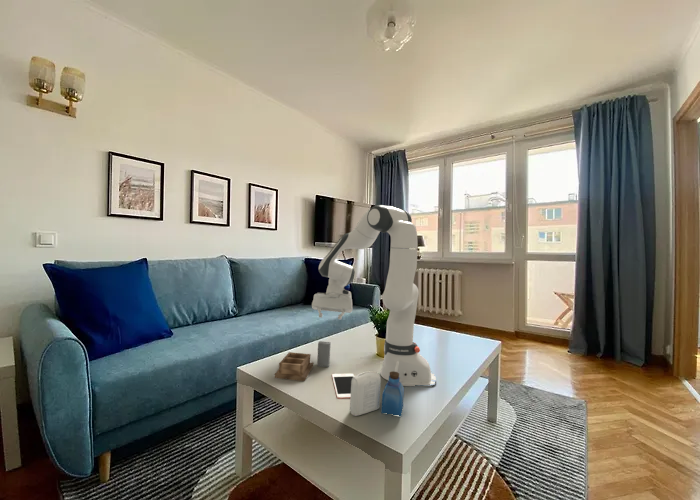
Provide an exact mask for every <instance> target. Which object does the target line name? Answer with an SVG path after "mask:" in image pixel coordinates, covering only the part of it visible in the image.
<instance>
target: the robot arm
mask: <svg viewBox="0 0 700 500" xmlns="http://www.w3.org/2000/svg"><path fill="white" fill-rule="evenodd" d="M412 219H413V218H412V216H411V214H410V213H409V212H408V211H407V210H405V209H402V208H397V207H394V206H391V205H383V204H377V205H374V206H372V207H371V208H370V209H369V210H366V212H365V213H364V214H363V215H362V217H360V219H359V221H358V223H357V225H356V226H355V228H353V230H351V231H350V232H347V233H344V234H343V235H342V236H341V237H340V238H339V239H338V240H337V242H336V243H335V245H334V246H333V247H332V248H331V249H330V250H329V252H328V253H326V254H327V255H325V256H324V257H323V259H321V261H320V262H319V265H318V272H319V274H320V275H321V277H324V278H329V279H328V285H327V286H326V287H327V288H326V292H317V293H315V294H314V295H313V300H312V302H311V308H312V309H313V310H315V311H318V318H319V319H322V318H323V315H324V314H323V313H322V311H326V312H337V313H340V314H338V316H337V320H342V317H343V316H344V315H345V313H346V314H347V313H349V314H351V313H352V312H353V299H352V292H351V291H349V290H347V289H345V287H347V286H349V285H350V284H352V283H353V281H354V279H355V278H354V277H355V274H356V272H355V268H354V267H353V266H352V265H350V264H347V263H346V262H342V261H339V260H338V259H337V258H338V257H339V255H340V254H341V253H342V252H343V251H344V250H348V249H349V250H351V249H355V250H365V249H368V248H370V247H371V246H372V245H373V244H374V242H375V241H376V239H377V238H378V237H379V234H381V233H383V234H387V233H388V234H389V236H390V248H389V249H390V251H389V267H388V273H387V277H386V281H385V288H384V291H383V293H382V303H383V305H384V307H385V308H386V309H387V310H389V315H388V318H387V321H386V333H385V339H384V343H383V344H384V346H383V353H384V356H383V357H384V358H383V362H382V367H381V370H380V372H379V375H380V377H382V378H383V379H384V380H386V381H388V380H389V376H390V372H393V371H394V372H398V373H399V378H400V379H399V382H401V384H402V386H403V387H416V386H415V385H430V384H434V383H435V382H433V381H431V380H436V381H437V377H436V375H435V373H433V372H432V370H431V366H430V363H429V362H428V360H427V359H426V358H425V357H424V356H423V355H421V354H420V352H421V349H420V346H419V345H418V344H417V343H416V342H414V329H415V321H416V320H415V319H416V313H417V309H418V308H417V307H418V301H419V292H420V290H419V288H418V286H417V284H415V283H414V281H415V275H416V271H417V266H418V246H419V245H418V243H419V242H418V232H417V231H418V230H417V228H416V226H415V224H414V223H412V222H413V221H412ZM380 232H381V233H380ZM431 372H432V373H433V374H432V373H431ZM434 375H435V376H434Z"/></svg>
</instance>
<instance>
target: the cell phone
mask: <svg viewBox="0 0 700 500" xmlns="http://www.w3.org/2000/svg"><path fill="white" fill-rule="evenodd" d="M354 376H355V375H354V373H332V374H331V377H332V382H333V385H334V391H335V394H336V398H337V399H338V400H339V399H341V400H343V399H350V397H351V382H352V378H353V377H354Z"/></svg>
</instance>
